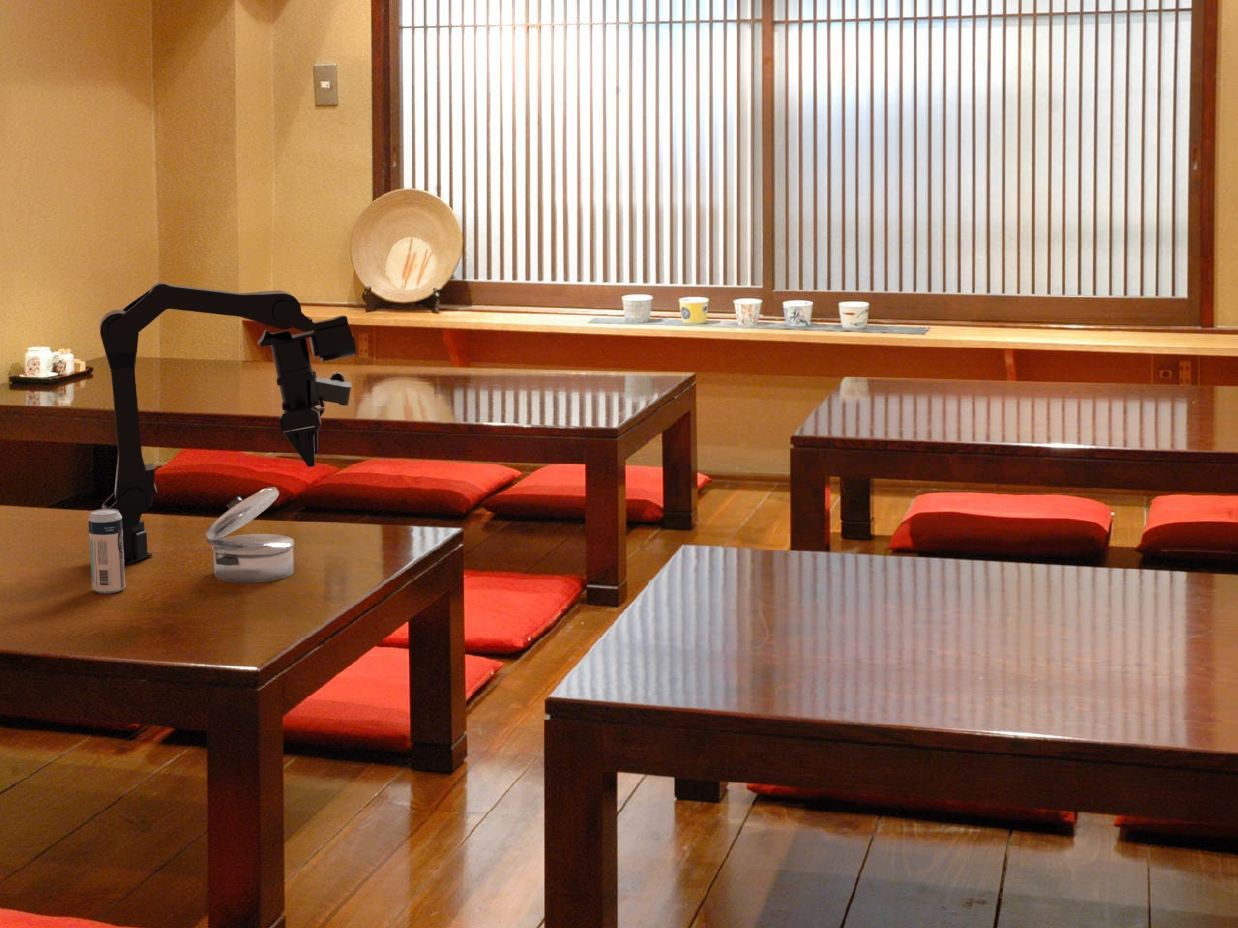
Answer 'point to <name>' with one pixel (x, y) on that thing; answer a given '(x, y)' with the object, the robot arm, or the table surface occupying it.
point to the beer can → (106, 551)
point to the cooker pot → (253, 558)
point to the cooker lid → (241, 513)
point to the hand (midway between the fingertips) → (313, 460)
